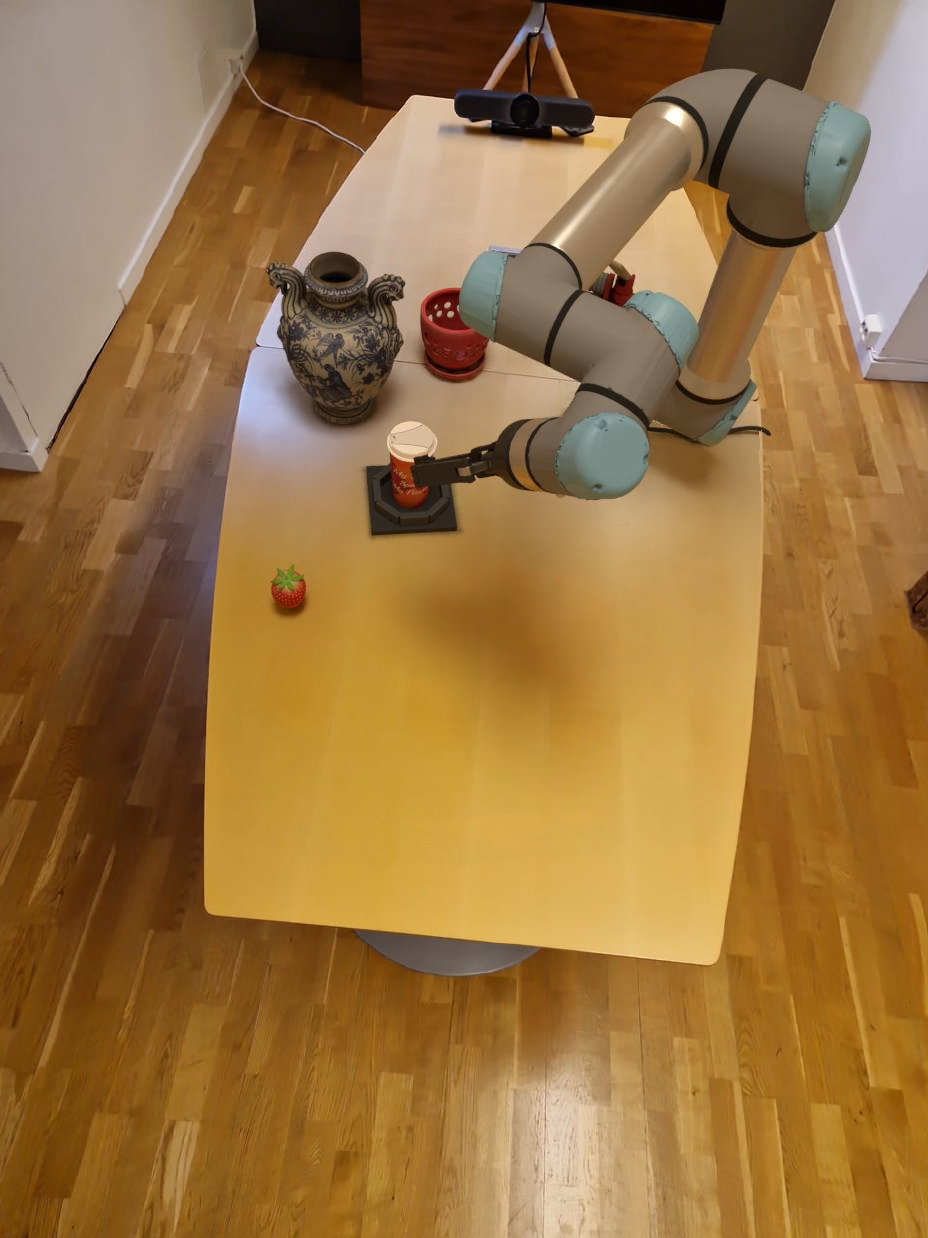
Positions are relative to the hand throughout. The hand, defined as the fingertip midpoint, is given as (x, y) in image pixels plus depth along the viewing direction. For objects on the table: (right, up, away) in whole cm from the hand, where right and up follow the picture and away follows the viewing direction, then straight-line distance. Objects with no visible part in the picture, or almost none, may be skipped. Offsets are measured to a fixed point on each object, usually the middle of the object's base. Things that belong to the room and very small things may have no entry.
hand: (467, 452), depth 104 cm
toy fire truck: (+25, +38, +60) cm, 75 cm away
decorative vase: (-22, +18, +44) cm, 52 cm away
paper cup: (-9, -1, +32) cm, 34 cm away
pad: (-9, -1, +33) cm, 34 cm away
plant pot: (-3, +28, +51) cm, 58 cm away
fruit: (-27, -19, +21) cm, 39 cm away
